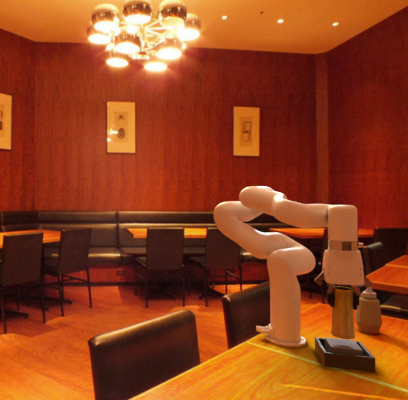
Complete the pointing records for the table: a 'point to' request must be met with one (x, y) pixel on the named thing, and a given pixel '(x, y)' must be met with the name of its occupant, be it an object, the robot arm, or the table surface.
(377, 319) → the squeeze bottle
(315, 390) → the table surface
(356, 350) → the block
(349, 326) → the vase
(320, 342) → the crate
